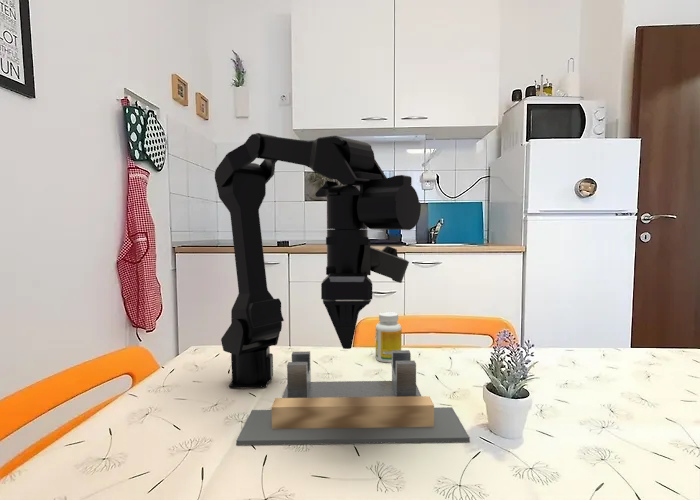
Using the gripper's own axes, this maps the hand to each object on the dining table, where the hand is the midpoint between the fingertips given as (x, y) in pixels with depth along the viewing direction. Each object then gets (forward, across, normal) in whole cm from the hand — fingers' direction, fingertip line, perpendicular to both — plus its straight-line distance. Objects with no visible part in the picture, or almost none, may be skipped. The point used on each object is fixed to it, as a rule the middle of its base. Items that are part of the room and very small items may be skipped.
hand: (347, 338), depth 60 cm
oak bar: (+11, -2, -1) cm, 11 cm away
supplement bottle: (+12, +27, -8) cm, 31 cm away
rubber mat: (+12, -2, -1) cm, 12 cm away
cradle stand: (+12, +8, -1) cm, 14 cm away
